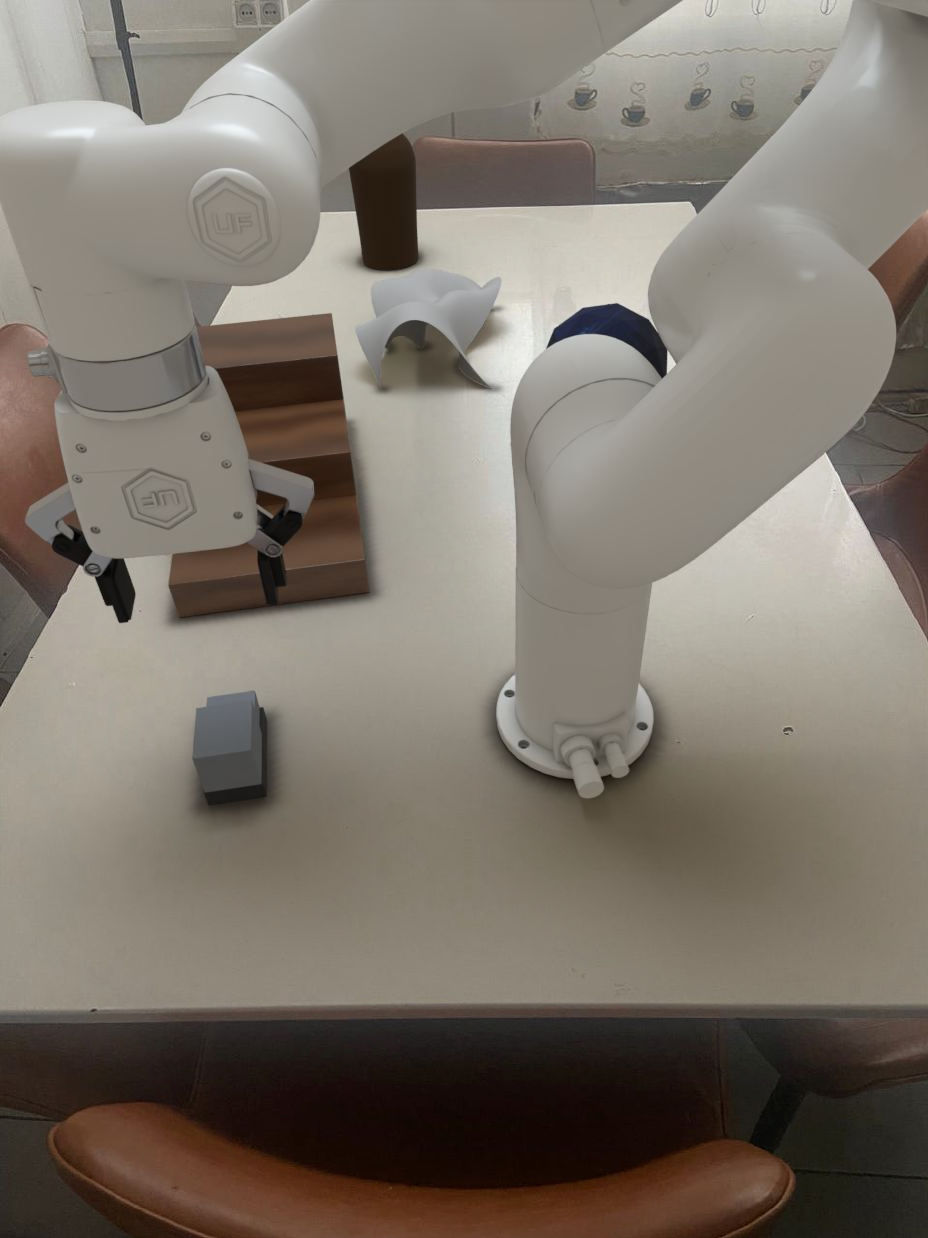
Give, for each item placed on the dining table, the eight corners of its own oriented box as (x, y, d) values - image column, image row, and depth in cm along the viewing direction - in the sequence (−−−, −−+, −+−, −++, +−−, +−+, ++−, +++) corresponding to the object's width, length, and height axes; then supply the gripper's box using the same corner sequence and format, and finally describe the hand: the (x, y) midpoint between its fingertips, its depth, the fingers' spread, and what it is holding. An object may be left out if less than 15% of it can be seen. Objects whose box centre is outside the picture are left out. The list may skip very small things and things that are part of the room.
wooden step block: (369, 592, 85) (352, 467, 76) (178, 617, 84) (136, 493, 74) (347, 423, 110) (331, 312, 100) (199, 440, 108) (169, 329, 99)
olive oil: (414, 272, 145) (401, 99, 129) (351, 270, 147) (331, 99, 130) (428, 249, 153) (417, 83, 136) (368, 247, 155) (351, 83, 138)
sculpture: (376, 311, 135) (369, 245, 128) (502, 309, 133) (501, 242, 127) (354, 390, 116) (345, 318, 109) (500, 388, 115) (499, 315, 108)
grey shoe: (266, 796, 68) (252, 749, 64) (208, 805, 67) (190, 759, 64) (266, 718, 74) (253, 672, 70) (212, 726, 73) (197, 680, 70)
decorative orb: (519, 420, 98) (610, 311, 90) (511, 359, 109) (591, 257, 101) (616, 482, 104) (709, 385, 96) (599, 418, 115) (681, 325, 107)
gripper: (-52, 411, 45) (58, 654, 56) (292, 381, 47) (331, 622, 58) (-15, 347, 51) (78, 580, 62) (291, 322, 52) (327, 553, 64)
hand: (201, 601), depth 60 cm, fingers open, 9 cm apart
